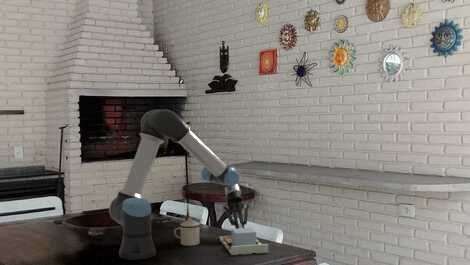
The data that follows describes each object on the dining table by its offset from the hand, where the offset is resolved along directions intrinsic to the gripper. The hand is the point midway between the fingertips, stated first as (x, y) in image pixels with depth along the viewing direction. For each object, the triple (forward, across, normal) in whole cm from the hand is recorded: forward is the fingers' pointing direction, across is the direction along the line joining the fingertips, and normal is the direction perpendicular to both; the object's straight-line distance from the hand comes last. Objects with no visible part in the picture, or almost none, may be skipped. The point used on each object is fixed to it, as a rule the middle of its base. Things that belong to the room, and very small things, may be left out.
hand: (241, 237), depth 231 cm
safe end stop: (+14, +1, +10) cm, 17 cm away
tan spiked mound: (-28, +19, -34) cm, 49 cm away
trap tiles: (-2, +1, -7) cm, 7 cm away
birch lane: (+5, +1, 0) cm, 5 cm away
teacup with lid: (-3, +24, -8) cm, 26 cm away
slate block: (+6, +1, +2) cm, 7 cm away
